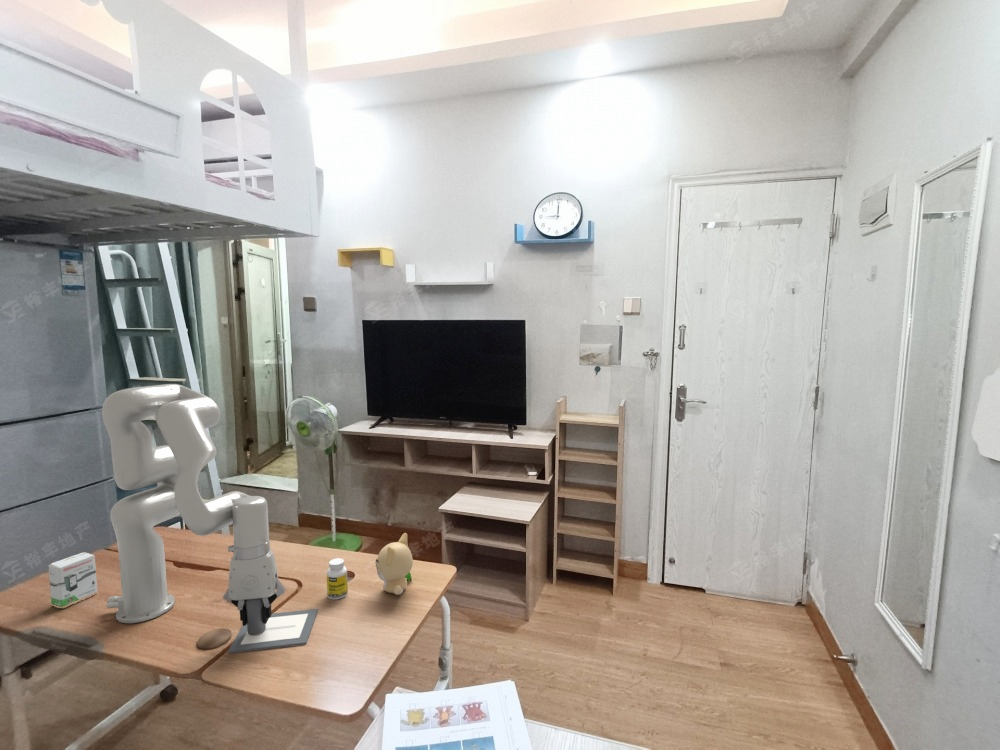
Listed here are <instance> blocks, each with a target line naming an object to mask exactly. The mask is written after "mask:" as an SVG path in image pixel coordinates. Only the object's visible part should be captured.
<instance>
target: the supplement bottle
mask: <svg viewBox="0 0 1000 750" xmlns="http://www.w3.org/2000/svg"><path fill="white" fill-rule="evenodd" d="M328 567H329V568H328V569H327V571H326V595H327V598H328V599H329V600H339V599H343V598H344V597H346V596H347V595H348V588H349V587H348V569H347V567H346V566H345V559H343V558H342V557H341V558H339V557H336V558H333V559H331V560H330V561H329V562H328Z"/></svg>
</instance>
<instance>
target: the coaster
mask: <svg viewBox="0 0 1000 750" xmlns="http://www.w3.org/2000/svg"><path fill="white" fill-rule="evenodd" d="M232 634H233V633H232V631H231V629H229V628H225V627H224V628H220V627H219V628H215V629H212V630H209V631H207V632H205V633H203V634H202V635H201V636H200V637H199V638H198V640H197V647H198V648H199V649H202V650H211V649H216V648H218V647H220V646H223V645H224V644H226V643H228V642H229V641H230V639H231V638H232Z"/></svg>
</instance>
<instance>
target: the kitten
mask: <svg viewBox="0 0 1000 750" xmlns="http://www.w3.org/2000/svg"><path fill="white" fill-rule="evenodd" d="M408 544H409V543H408V533H406V532H404V533H402V535H401V537H400V538H399V539H398V541H395V542H390V543H388V544H386V545H385V546H384V547H382V549H381V550H380V551H379V552H378V555H377V558H376V559H375V567H376V574H377V577H378V578H379V579H380V580H382V581H383V585H382V589H383V590H384V591H385V592H387V593H389V594H394V595H396V596H399V595H401V594H403V592H404V590H405V589H406V588H407V586H408V581H407V580H409V581H411V580H412V578H413V577H412V575H411V570H412V568H413V565H414V564H413V563H414V560H413V554H412V551H411V550H410V548H409V545H408ZM406 578H407V579H406ZM410 579H411V580H410Z"/></svg>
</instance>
